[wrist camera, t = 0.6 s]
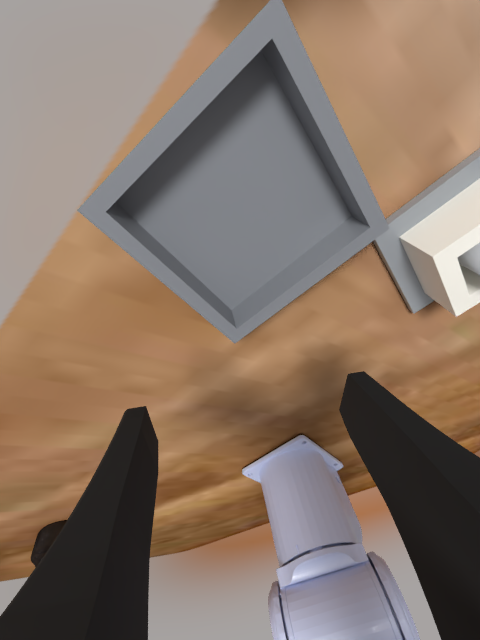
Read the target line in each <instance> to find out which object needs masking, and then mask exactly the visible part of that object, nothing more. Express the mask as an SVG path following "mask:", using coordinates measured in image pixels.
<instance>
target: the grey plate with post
mask: <svg viewBox="0 0 480 640" xmlns="http://www.w3.org/2000/svg"><path fill="white" fill-rule="evenodd" d="M478 179H480V148H479V149H478V150H477V151H475V152H474V153H473V154H471V155H470V156H469V157H467V158H466V159H465V160H463V161H462V162H461V163H459V164H458V165H457V166H455V167H454V168H453V169H451V170H450V171H449V172H448V173H446V174H445V175H444V176H442V177H441V178H440V179H438V180H437V181H436V182H434V183H433V184H432V185H430V186H429V187H428V188H426V189H425V190H424V191H422V192H421V193H420V194H418V195H417V196H416V197H414V198H413V199H412V200H410V201H409V202H408V203H406V204H405V205H404V206H402V207H401V208H400V209H398V210H397V211H396V212H394V213H393V214H392V215H391V216H389V217H388V218H387V219H385V220H386V222H387V224H388V226H389V228H390V229H388V230H387V231H386V232H384V233H383V234H382V235H380V236H379V237H378V238H376V239H375V240H374V241H373V243H374V245H375V246H376V248H377V250H378V252H379V254H380V256H381V258H382V260H383V262H384V263H385V265H386V267H387V269H388V271H389V273H390V275H391V277H392V278H393V280H394V282H395V284H396V286H397V288H398V290H399V292H400V294H401V295H402V297H403V299H404V301H405V303H406V305H407V307H408V309H409V310H410V311H411V312H412V313H416V312H417V311H419V310H421V309H422V308H424V307H425V306H427V305H428V304H430V303H431V302H433V301H434V300H433V299H432V298H431V297H429V296H428V295H427V294H425V293H424V290H423V288H422V286H421V284H420V282H419V280H418V277H417V275H416V273H415V271H414V269H413V267H412V264H411V262H410V260H409V258H408V256H407V254H406V251H405V249H404V247H403V245H402V243H401V240H400V238H399V237H400V236H401V235H403V234H404V233H405V232H407V231H408V230H409V229H411V228H412V227H414V226H415V225H416V224H418V223H419V222H420V221H422V220H423V219H425V218H426V217H427V216H429V215H430V214H431V213H433V212H434V211H436V210H437V209H438V208H440V207H441V206H442V205H444V204H445V203H447V202H448V201H449V200H451V199H452V198H453V197H455V196H456V195H458V194H459V193H460V192H462V191H463V190H464V189H466V188H467V187H469V186H470V185H471V184H473V183H474V182H475V181H477V180H478ZM457 259H458V262H459V264H460V265H462V266H464V267H466V268H468V269H469V270H471V271H473V272H475V273H477V274H478V275H480V243H478V244H477V245H475V246H474V247H472V248H471V249H469V250H468V251H466V252H465V253H463V254H462V255H460V256H459V257H458V258H457Z"/></svg>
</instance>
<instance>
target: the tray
mask: <svg viewBox="0 0 480 640" xmlns="http://www.w3.org/2000/svg"><path fill="white" fill-rule="evenodd" d="M77 211H78V212H80V213H81V214H82V215H83V216H84V217H86V218H87V219H88V220H89V221H90V222H91V223H93V224H94V225H95V226H96V227H97V228H99V229H100V230H101V231H102V232H103V233H104V234H106V235H107V236H108V237H109V238H110V239H112V240H113V241H114V242H115V243H116V244H117V245H119V246H120V247H121V248H122V249H123V250H125V251H126V252H127V253H128V254H129V255H130V256H132V257H133V258H134V259H135V260H136V261H138V262H139V263H140V264H141V265H142V266H144V267H145V268H146V269H147V270H148V271H149V272H151V273H152V274H153V275H154V276H155V277H157V278H158V279H159V280H160V281H161V282H162V283H164V284H165V285H166V286H167V287H168V288H170V289H171V290H172V291H173V292H174V293H175V294H177V295H178V296H179V297H180V298H181V299H183V300H184V301H185V302H186V303H187V304H188V305H190V306H191V307H192V308H193V309H194V310H196V311H197V312H198V313H199V314H200V315H201V316H203V317H204V318H205V319H206V320H207V321H209V322H210V323H211V324H212V325H213V326H214V327H216V328H217V329H218V330H219V331H220V332H222V333H223V334H224V335H225V336H226V337H227V338H229V339H230V340H231V341H232V342H233V343H236V342H238V341H239V340H240V339H242V338H243V337H244V336H246V335H247V334H248V333H250V332H251V331H252V330H254V329H255V328H256V327H258V326H259V325H260V324H262V323H263V322H265V321H266V320H267V319H269V318H270V317H271V316H273V315H274V314H275V313H277V312H278V311H279V310H281V309H282V308H283V307H285V306H286V305H287V304H289V303H290V302H291V301H293V300H294V299H295V298H297V297H298V296H300V295H301V294H302V293H304V292H305V291H306V290H308V289H309V288H310V287H312V286H313V285H314V284H316V283H317V282H318V281H320V280H321V279H322V278H324V277H325V276H326V275H328V274H329V273H331V272H332V271H333V270H335V269H336V268H337V267H339V266H340V265H341V264H343V263H344V262H345V261H347V260H348V259H349V258H351V257H352V256H353V255H355V254H356V253H357V252H359V251H360V250H361V249H363V248H364V247H366V246H367V245H368V244H370V243H371V242H372V241H374V240H375V239H376V238H378V237H379V236H380V235H382V234H383V233H384V232H386V231H387V230H388V229H390V228H389V226H388V224H387V222H386V220H385V217H384V215H383V213H382V211H381V209H380V207H379V205H378V203H377V201H376V198H375V196H374V194H373V192H372V190H371V188H370V186H369V184H368V181H367V179H366V177H365V175H364V173H363V171H362V169H361V167H360V165H359V162H358V160H357V158H356V156H355V154H354V152H353V150H352V148H351V146H350V143H349V141H348V139H347V137H346V135H345V133H344V131H343V129H342V126H341V124H340V122H339V120H338V118H337V116H336V114H335V112H334V110H333V107H332V105H331V103H330V101H329V99H328V97H327V95H326V93H325V91H324V88H323V86H322V84H321V82H320V80H319V78H318V76H317V74H316V71H315V69H314V67H313V65H312V63H311V61H310V59H309V57H308V55H307V52H306V50H305V48H304V46H303V44H302V42H301V40H300V38H299V36H298V33H297V31H296V29H295V27H294V25H293V23H292V21H291V19H290V16H289V14H288V12H287V10H286V8H285V6H284V4H283V2H282V0H270V1H269V2H268V3H267V4H266V6H265V7H264V8H263V9H262V10H261V11H260V12H259V13H258V14H257V15H256V16H255V18H254V19H253V20H252V21H251V22H250V23H249V24H248V25H247V26H246V27H245V28H244V29H243V31H242V32H241V33H240V34H239V35H238V36H237V37H236V38H235V39H234V40H233V41H232V43H231V44H230V45H229V46H228V47H227V48H226V49H225V50H224V51H223V52H222V53H221V54H220V56H219V57H218V58H217V59H216V60H215V61H214V62H213V63H212V64H211V65H210V66H209V68H208V69H207V70H206V71H205V72H204V73H203V74H202V75H201V76H200V77H199V78H198V79H197V81H196V82H195V83H194V84H193V85H192V86H191V87H190V88H189V89H188V90H187V91H186V93H185V94H184V95H183V96H182V97H181V98H180V99H179V100H178V101H177V102H176V103H175V104H174V106H173V107H172V108H171V109H170V110H169V111H168V112H167V113H166V114H165V115H164V116H163V118H162V119H161V120H160V121H159V122H158V123H157V124H156V125H155V126H154V127H153V128H152V129H151V131H150V132H149V133H148V134H147V135H146V136H145V137H144V138H143V139H142V140H141V141H140V143H139V144H138V145H137V146H136V147H135V148H134V149H133V150H132V151H131V152H130V153H129V155H128V156H127V157H126V158H125V159H124V160H123V161H122V162H121V163H120V164H119V165H118V166H117V168H116V169H115V170H114V171H113V172H112V173H111V174H110V175H109V176H108V177H107V178H106V180H105V181H104V182H103V183H102V184H101V185H100V186H99V187H98V188H97V189H96V190H95V191H94V193H93V194H92V195H91V196H90V197H89V198H88V199H87V200H86V201H85V202H84V203H83V205H82V206H81V207H80V208H79V209H78V210H77Z"/></svg>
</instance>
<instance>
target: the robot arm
mask: <svg viewBox="0 0 480 640" xmlns="http://www.w3.org/2000/svg"><path fill="white" fill-rule="evenodd" d="M339 410H340V413H341V416H342V418H343V421H344V423H345V426H346V428H347V431H348V433H349V435H350V438H351V439H352V441H353V443H354V445H355V447H356V449H357V451H358V453H359V454H360V456H361V458H362V460H363V462H364V464H365V465H366V467H367V469H368V471H369V473H370V475H371V476H372V478H373V480H374V482H375V484H376V485H377V487H378V489H379V491H380V493H381V494H382V496H383V498H384V500H385V502H386V504H387V506H388V508H389V510H390V512H391V515H392V517H393V519H394V521H395V524H396V526H397V528H398V531H399V533H400V535H401V537H402V540H403V542H404V544H405V547H406V549H407V552H408V554H409V557H410V559H411V561H412V564H413V566H414V569H415V571H416V573H417V576H418V578H419V581H420V584H421V586H422V589H423V591H424V594H425V597H426V599H427V602H428V604H429V607H430V609H431V612H432V614H433V618H434V620H435V623H436V625H437V629H438V631H439V634H440V637H441V640H480V458H479V457H478V456H476V455H475V454H473V453H472V452H470V451H468V450H467V449H465V448H464V447H462V446H461V445H459V444H458V443H456V442H455V441H454V440H452V439H451V438H449V437H448V436H446V435H445V434H444V433H442V432H441V431H439V430H438V429H437V428H435V427H434V426H432V425H431V424H430V423H428V422H427V421H426V420H424V419H423V418H422V417H420V416H419V415H418V414H416V413H415V412H414V411H413V410H411V409H410V408H409V407H407V406H406V405H405V404H404V403H402V402H401V401H400V400H399V399H397V398H396V397H395V396H394V395H392V394H391V393H390V392H389V391H387V390H386V389H385V388H384V387H382V386H381V385H380V384H379V383H378V382H376V381H375V380H374V379H373V378H371V377H370V376H369V375H368V374H366V373H365V372H364V371H363V372H357V373H351V374H348V376H347V380H346V384H345V388H344V393H343V397H342V401H341V405H340V409H339ZM342 467H343V464H342V462H340V461H339V460H337V459H336V458H335V457H333V456H332V455H331V454H329V453H328V452H326V451H325V450H324V449H322V448H321V447H320V446H318V445H317V444H315V443H314V442H313V441H311V440H310V439H309V438H307V437H306V436H304V435H299V436H297V437H296V438H294V439H292V440H291V441H289V442H287V443H285V444H284V445H282V446H280V447H279V448H277V449H275V450H274V451H272V452H270V453H269V454H267V455H265V456H264V457H262V458H260V459H259V460H257V461H255V462H254V463H252V464H250V465H249V466H247V467H245V468H244V469H243V470H242V473H243V475H245V476H247V477H249V478H251V479H253V480H255V481H257V482H259V483H261V485H262V489H263V494H264V498H265V503H266V507H267V512H268V516H269V521H270V525H271V530H272V534H273V539H274V543H275V548H276V552H277V557H278V561H279V566H280V568H277V569H276V571H277V576H278V581H275V582H273V583H272V587H271V590H270V593H269V597H268V605H269V615H270V623H271V629H272V634H273V640H420V638H419V635H418V632H417V629H416V626H415V624H414V621H413V619H412V617H411V614H410V612H409V609H408V607H407V605H406V602H405V600H404V598H403V596H402V593H401V591H400V589H399V587H398V585H397V583H396V581H395V579H394V577H393V575H392V573H391V571H390V569H389V568H388V566H387V564H386V562H385V561H384V560H383V559H382V558H381V557H379V556H378V555H376V554H375V553H374V552H370V553H367V554H366V552H365V550H364V547H363V545H362V531H361V527H360V523H359V521H358V519H357V516H356V514H355V512H354V510H353V507H352V505H351V503H350V500H349V498H348V496H347V493H346V491H345V489H344V487H343V484H342V482H341V480H340V477H339V475H338V473H337V471H338V470H339V469H341V468H342ZM157 479H158V439H157V437H156V434H155V431H154V428H153V425H152V422H151V420H150V417H149V414H148V411H147V408H146V406H144V407H138V408H132V409H127V410H126V411H125V412H124V415H123V417H122V419H121V422H120V424H119V426H118V428H117V430H116V433H115V435H114V437H113V439H112V441H111V443H110V445H109V447H108V449H107V451H106V453H105V455H104V457H103V459H102V461H101V462H100V464H99V466H98V468H97V470H96V472H95V474H94V476H93V478H92V479H91V481H90V483H89V485H88V486H87V488H86V490H85V492H84V493H83V495H82V497H81V498H80V500H79V502H78V504H77V505H76V507H75V509H74V510H73V512H72V514H71V515H70V517H69V518H68V520H67V522H66V523H65V525H64V526H63V528H62V530H61V531H60V533H59V534H58V536H57V537H56V539H55V540H54V542H53V543H52V545H51V546H50V548H49V549H48V551H47V552H46V554H45V555H44V557H43V558H42V560H41V561H40V562H39V564H38V565H37V567H36V568H35V569H34V571H33V572H32V574H31V575H30V577H29V578H28V579H27V581H26V582H25V584H24V585H23V586H22V588H21V589H20V591H19V592H18V593H17V595H16V596H15V597H14V599H13V600H12V601H11V603H10V604H9V605H8V607H7V608H6V609H5V611H4V612H3V614H2V615H1V616H0V640H148V587H149V586H148V585H149V558H150V545H151V535H152V526H153V517H154V507H155V498H156V488H157Z"/></svg>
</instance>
